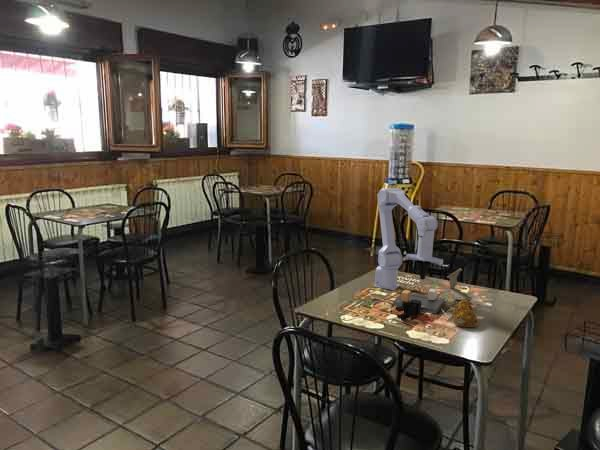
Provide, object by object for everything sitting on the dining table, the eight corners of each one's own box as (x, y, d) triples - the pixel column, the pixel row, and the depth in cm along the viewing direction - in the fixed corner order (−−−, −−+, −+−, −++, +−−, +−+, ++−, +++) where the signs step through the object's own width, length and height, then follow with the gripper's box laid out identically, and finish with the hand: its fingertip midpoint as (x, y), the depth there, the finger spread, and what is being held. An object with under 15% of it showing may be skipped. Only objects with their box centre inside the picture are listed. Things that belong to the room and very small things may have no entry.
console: (392, 304, 191) (393, 301, 190) (404, 294, 204) (404, 291, 203) (435, 313, 182) (435, 309, 182) (444, 302, 195) (445, 298, 195)
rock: (476, 334, 175) (482, 323, 167) (454, 337, 175) (458, 326, 167) (467, 306, 181) (472, 294, 173) (445, 309, 182) (449, 297, 173)
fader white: (427, 299, 193) (428, 291, 192) (430, 296, 196) (431, 288, 196) (434, 300, 192) (434, 292, 191) (436, 297, 195) (437, 289, 195)
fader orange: (400, 300, 190) (401, 292, 190) (404, 298, 194) (404, 289, 193) (407, 302, 189) (407, 293, 188) (410, 299, 193) (410, 290, 192)
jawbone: (463, 303, 210) (472, 299, 195) (446, 306, 210) (454, 302, 195) (456, 272, 213) (464, 266, 199) (439, 275, 214) (446, 269, 199)
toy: (412, 309, 187) (413, 293, 185) (424, 312, 184) (425, 296, 182) (393, 321, 175) (394, 304, 174) (406, 324, 172) (407, 307, 171)
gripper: (404, 245, 191) (402, 278, 194) (441, 251, 184) (437, 284, 187) (410, 242, 197) (407, 273, 200) (445, 247, 190) (442, 280, 192)
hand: (422, 278), depth 194 cm, fingers closed
